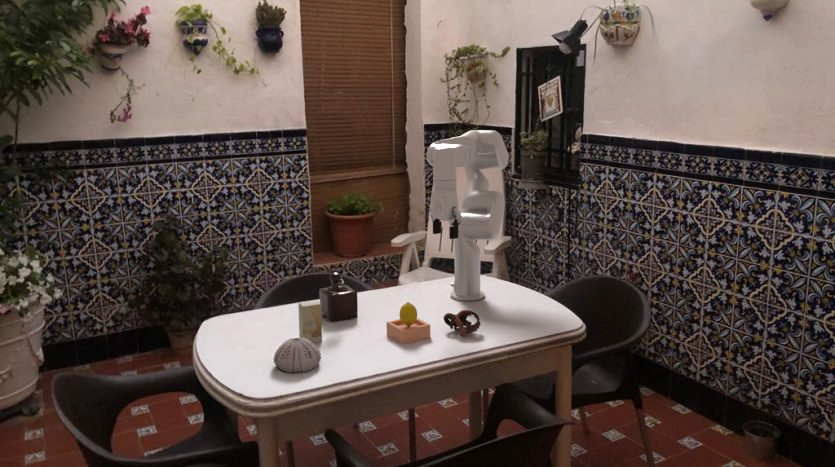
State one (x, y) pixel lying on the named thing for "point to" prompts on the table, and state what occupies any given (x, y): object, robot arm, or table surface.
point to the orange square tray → (408, 331)
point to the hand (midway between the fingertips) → (445, 236)
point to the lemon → (408, 314)
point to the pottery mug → (462, 322)
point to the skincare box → (310, 321)
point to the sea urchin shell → (297, 355)
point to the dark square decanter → (338, 300)
